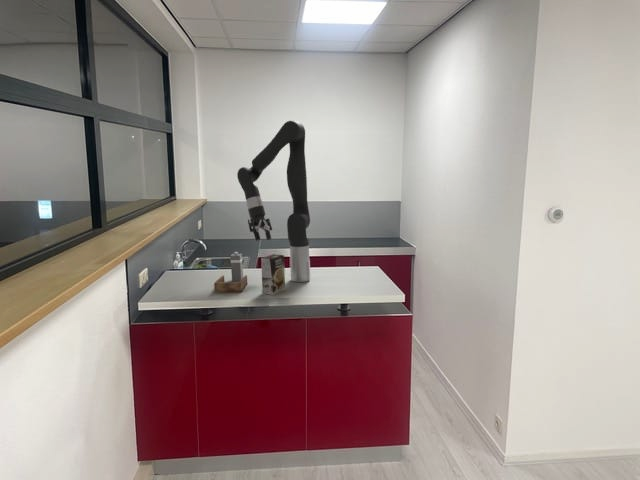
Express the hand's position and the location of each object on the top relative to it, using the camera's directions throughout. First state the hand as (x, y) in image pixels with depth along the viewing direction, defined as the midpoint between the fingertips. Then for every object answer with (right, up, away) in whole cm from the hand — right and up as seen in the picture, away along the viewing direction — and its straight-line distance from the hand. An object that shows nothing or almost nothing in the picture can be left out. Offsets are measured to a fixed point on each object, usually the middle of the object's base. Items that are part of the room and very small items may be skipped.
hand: (263, 239), depth 212 cm
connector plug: (-14, -20, +7) cm, 25 cm away
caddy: (-14, -22, -7) cm, 27 cm away
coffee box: (+6, -23, -13) cm, 27 cm away
